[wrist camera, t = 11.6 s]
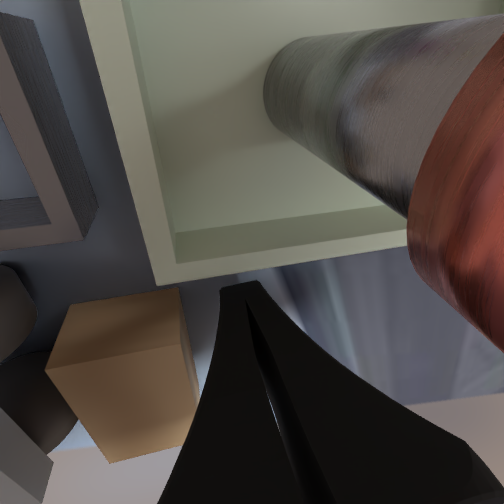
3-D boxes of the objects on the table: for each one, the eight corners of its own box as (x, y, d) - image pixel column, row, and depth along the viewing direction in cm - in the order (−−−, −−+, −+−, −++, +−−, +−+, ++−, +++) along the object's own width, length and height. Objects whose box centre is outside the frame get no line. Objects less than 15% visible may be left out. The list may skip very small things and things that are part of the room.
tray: (544, -121, 7) (681, -183, 5) (430, 205, 11) (479, 233, 9) (61, -165, 5) (1, -289, 3) (159, 241, 9) (156, 286, 8)
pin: (371, 13, 7) (1402, -190, 1) (350, 147, 8) (713, 335, 3) (244, 14, 6) (951, -345, 1) (248, 157, 8) (445, 413, 2)
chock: (178, 282, 11) (180, 343, 9) (198, 378, 14) (203, 439, 12) (72, 299, 10) (44, 369, 8) (119, 395, 14) (109, 463, 11)
